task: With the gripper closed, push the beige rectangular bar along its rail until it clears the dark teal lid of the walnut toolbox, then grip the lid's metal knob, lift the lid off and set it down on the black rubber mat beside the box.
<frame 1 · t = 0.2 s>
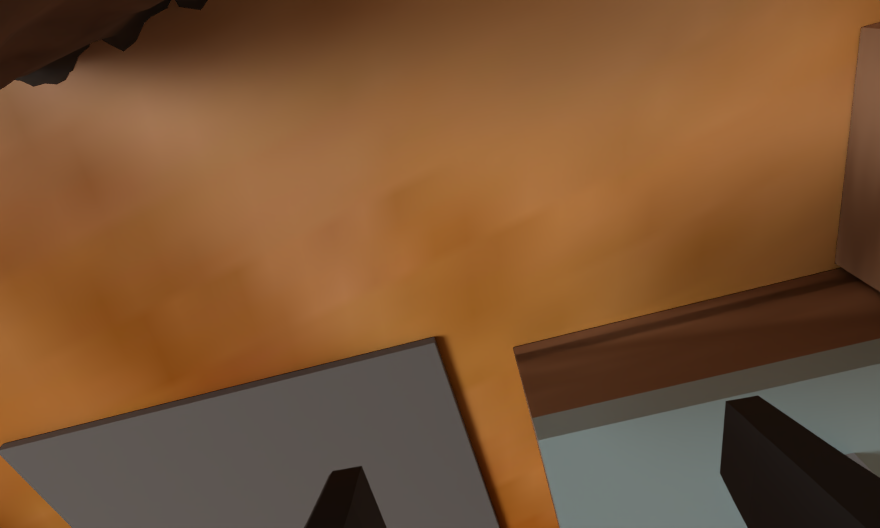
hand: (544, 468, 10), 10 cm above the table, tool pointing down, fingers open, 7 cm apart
mat: (281, 502, 25), on the table
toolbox: (731, 402, 23), on the table
lid: (788, 475, 20), point 4 cm above the table, touching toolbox
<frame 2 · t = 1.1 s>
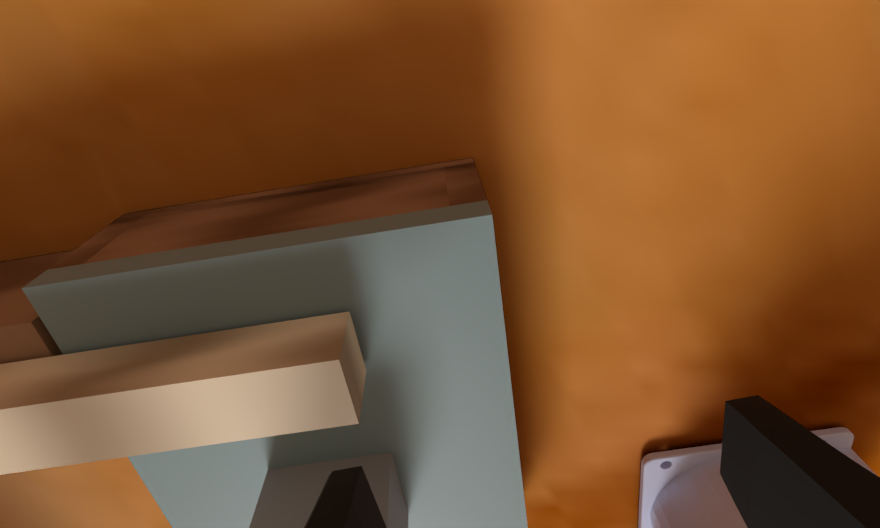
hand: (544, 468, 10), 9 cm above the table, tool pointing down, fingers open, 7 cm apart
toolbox: (356, 389, 21), on the table
beige rectangular bar: (125, 399, 13), point 6 cm above the table, slide at 0.0 cm
lid: (344, 467, 18), point 4 cm above the table, touching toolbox
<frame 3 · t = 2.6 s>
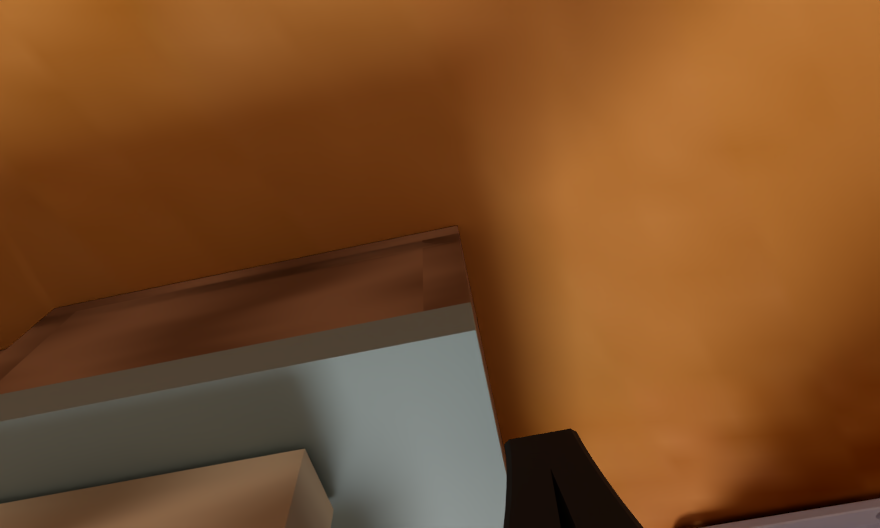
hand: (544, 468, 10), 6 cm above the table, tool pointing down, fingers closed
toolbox: (342, 478, 18), on the table
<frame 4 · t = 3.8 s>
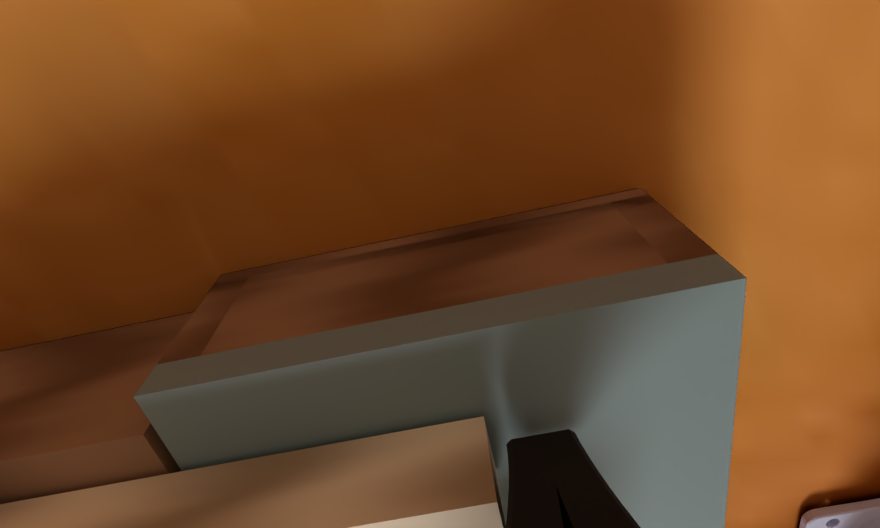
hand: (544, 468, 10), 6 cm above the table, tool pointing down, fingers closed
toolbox: (479, 454, 18), on the table
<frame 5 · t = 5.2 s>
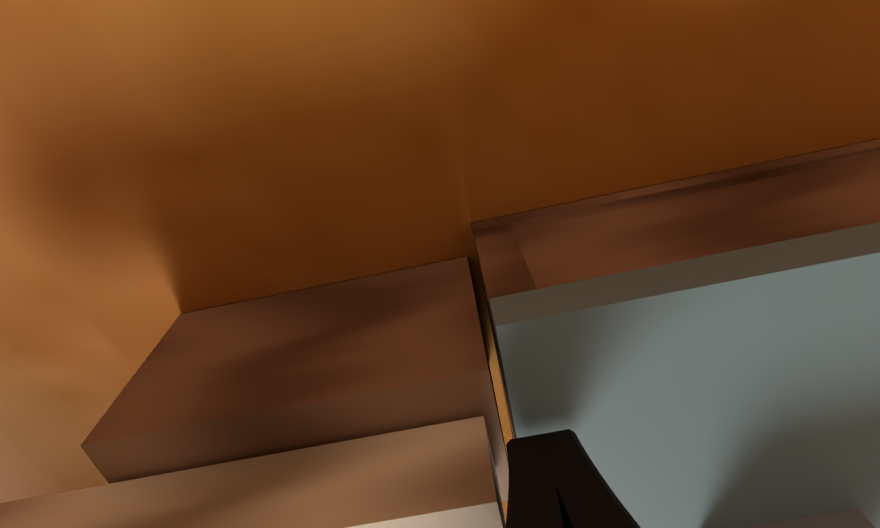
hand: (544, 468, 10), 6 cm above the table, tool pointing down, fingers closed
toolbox: (682, 418, 18), on the table
lid: (748, 522, 14), point 4 cm above the table, touching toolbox
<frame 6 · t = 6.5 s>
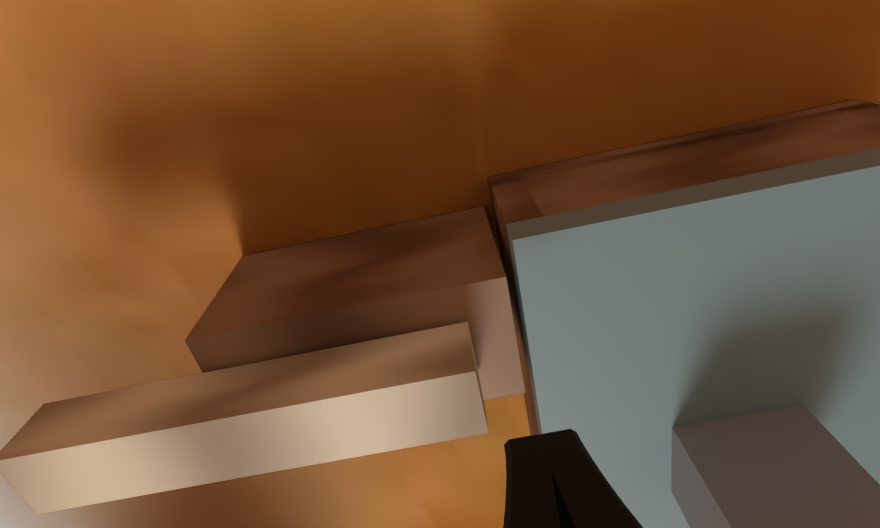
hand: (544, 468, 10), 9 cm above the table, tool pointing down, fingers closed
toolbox: (666, 353, 21), on the table
beige rectangular bar: (253, 417, 13), point 6 cm above the table, slide at 9.5 cm
lid: (717, 426, 17), point 4 cm above the table, touching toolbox
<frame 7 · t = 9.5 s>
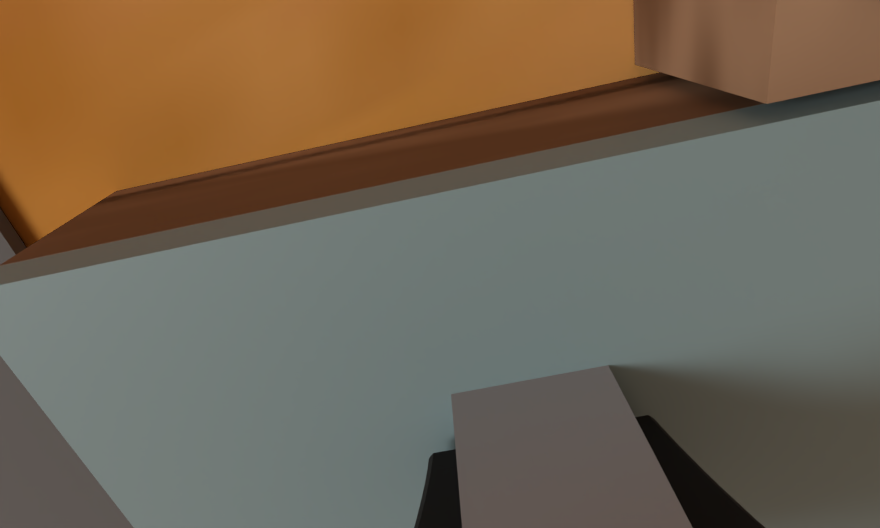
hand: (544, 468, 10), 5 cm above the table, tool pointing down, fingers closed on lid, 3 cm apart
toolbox: (504, 317, 15), on the table
lid: (530, 417, 11), point 4 cm above the table, touching gripper, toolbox
when the fingers open (3 cm above the table, at t = 14.2 s): lid stays where it is, resting on mat.
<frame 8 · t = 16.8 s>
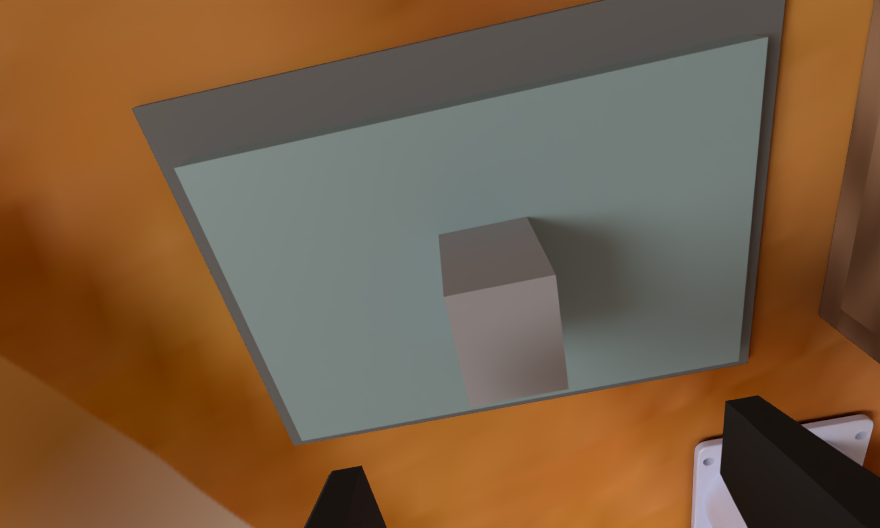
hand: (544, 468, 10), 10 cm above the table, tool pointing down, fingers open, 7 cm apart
mat: (485, 250, 19), on the table
lid: (488, 263, 19), resting on mat
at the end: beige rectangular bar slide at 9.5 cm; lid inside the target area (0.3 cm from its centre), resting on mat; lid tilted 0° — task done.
